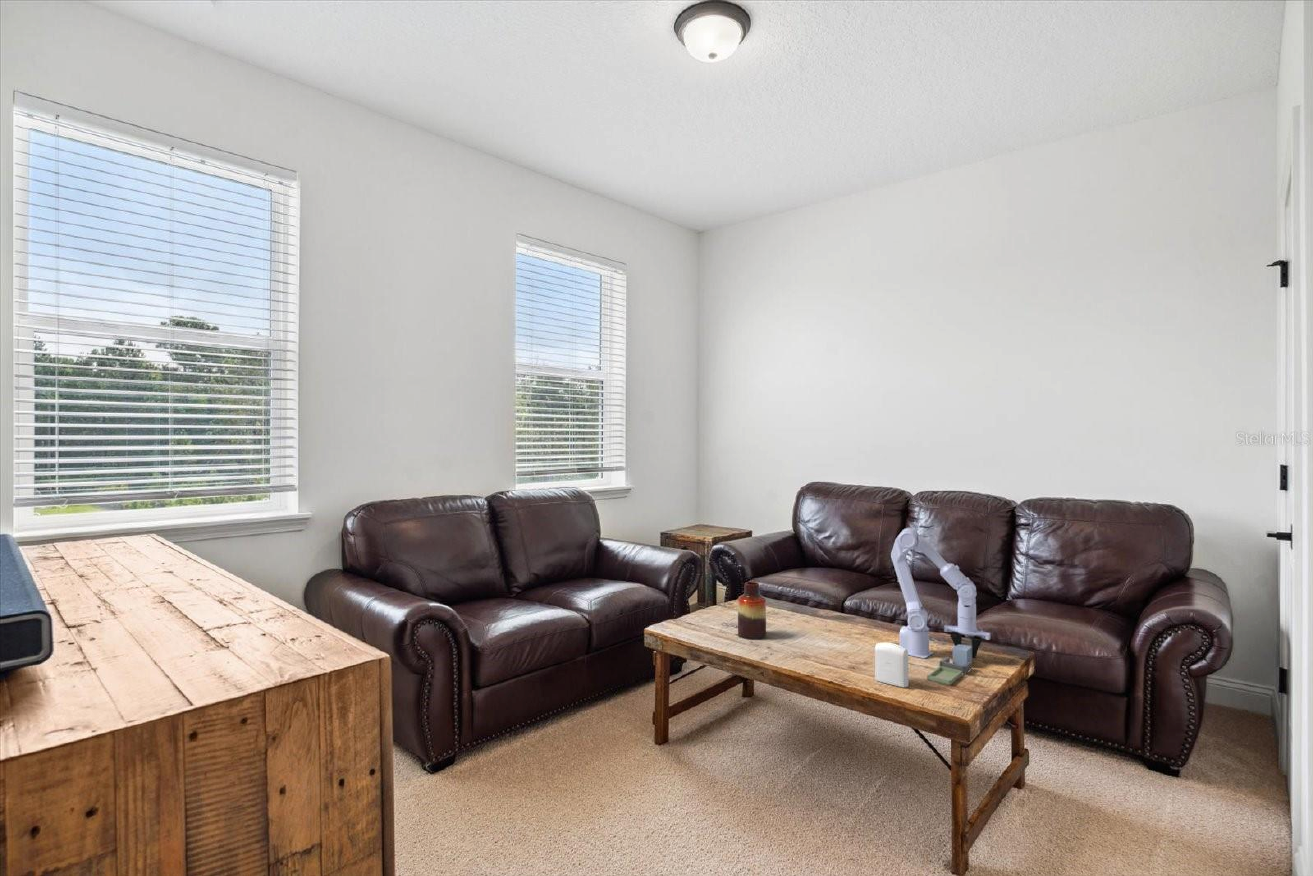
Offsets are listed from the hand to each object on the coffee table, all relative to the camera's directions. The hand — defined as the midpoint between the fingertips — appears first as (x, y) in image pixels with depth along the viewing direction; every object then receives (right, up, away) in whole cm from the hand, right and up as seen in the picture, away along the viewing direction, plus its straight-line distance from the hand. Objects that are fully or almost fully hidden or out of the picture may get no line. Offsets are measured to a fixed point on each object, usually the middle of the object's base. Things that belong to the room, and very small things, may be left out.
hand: (966, 656), depth 227 cm
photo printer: (-33, -2, -21) cm, 39 cm away
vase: (-70, -2, +29) cm, 75 cm away
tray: (-15, -2, -16) cm, 22 cm away
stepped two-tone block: (-2, -1, -2) cm, 3 cm away
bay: (-8, -2, -9) cm, 12 cm away
